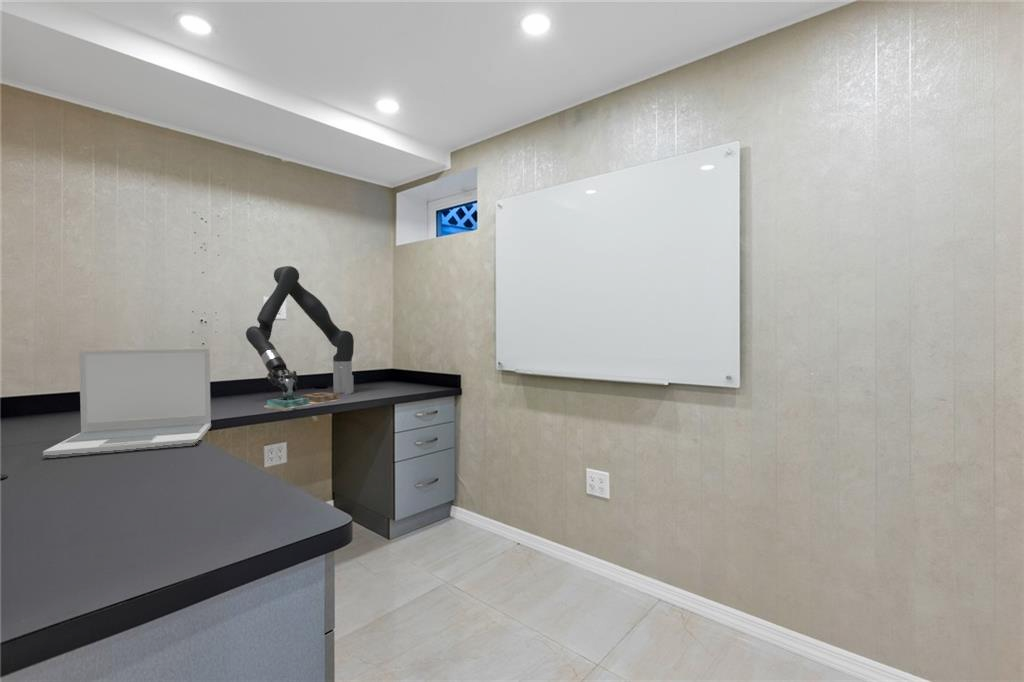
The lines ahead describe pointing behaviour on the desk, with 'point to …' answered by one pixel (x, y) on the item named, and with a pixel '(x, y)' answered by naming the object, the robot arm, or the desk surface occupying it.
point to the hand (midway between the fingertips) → (291, 390)
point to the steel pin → (288, 386)
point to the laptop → (140, 399)
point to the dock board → (300, 401)
